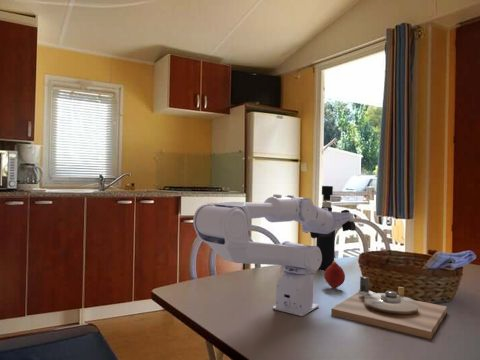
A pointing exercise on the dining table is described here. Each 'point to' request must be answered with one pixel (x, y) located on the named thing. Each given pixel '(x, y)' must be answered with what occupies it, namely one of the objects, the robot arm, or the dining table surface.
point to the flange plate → (386, 300)
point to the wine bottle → (325, 242)
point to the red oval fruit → (334, 275)
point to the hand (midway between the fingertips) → (341, 229)
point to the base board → (393, 316)
